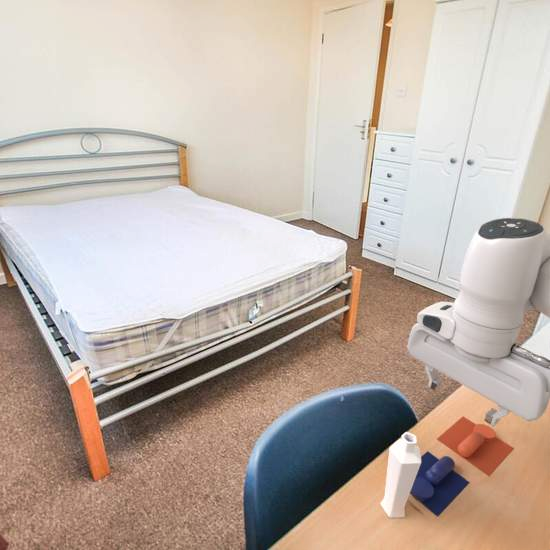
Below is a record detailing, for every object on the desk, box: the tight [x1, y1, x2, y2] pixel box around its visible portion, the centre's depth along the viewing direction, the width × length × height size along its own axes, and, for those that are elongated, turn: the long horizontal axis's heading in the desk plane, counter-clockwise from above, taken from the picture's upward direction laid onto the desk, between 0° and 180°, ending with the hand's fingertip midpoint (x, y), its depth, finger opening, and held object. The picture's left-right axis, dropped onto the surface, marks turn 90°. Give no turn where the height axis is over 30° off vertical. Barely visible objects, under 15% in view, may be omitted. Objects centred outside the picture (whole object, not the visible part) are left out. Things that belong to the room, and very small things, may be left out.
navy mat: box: [409, 450, 470, 518], centre depth 65 cm, size 10×8×1 cm
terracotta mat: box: [436, 415, 515, 477], centre depth 72 cm, size 10×10×1 cm
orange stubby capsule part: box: [458, 423, 496, 457], centre depth 72 cm, size 11×4×2 cm, turn 128°
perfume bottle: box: [380, 431, 422, 519], centre depth 58 cm, size 5×4×15 cm
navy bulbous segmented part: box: [410, 455, 456, 503], centre depth 64 cm, size 11×4×2 cm, turn 128°
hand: (461, 404), depth 61 cm, fingers open, 8 cm apart
